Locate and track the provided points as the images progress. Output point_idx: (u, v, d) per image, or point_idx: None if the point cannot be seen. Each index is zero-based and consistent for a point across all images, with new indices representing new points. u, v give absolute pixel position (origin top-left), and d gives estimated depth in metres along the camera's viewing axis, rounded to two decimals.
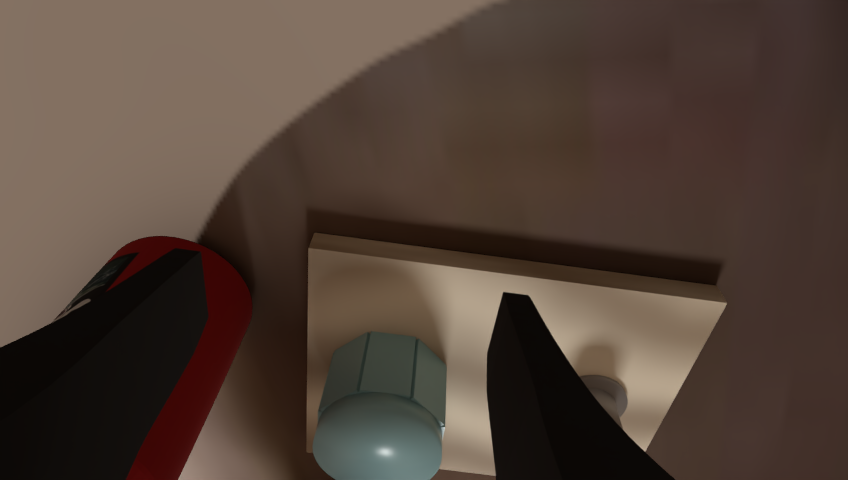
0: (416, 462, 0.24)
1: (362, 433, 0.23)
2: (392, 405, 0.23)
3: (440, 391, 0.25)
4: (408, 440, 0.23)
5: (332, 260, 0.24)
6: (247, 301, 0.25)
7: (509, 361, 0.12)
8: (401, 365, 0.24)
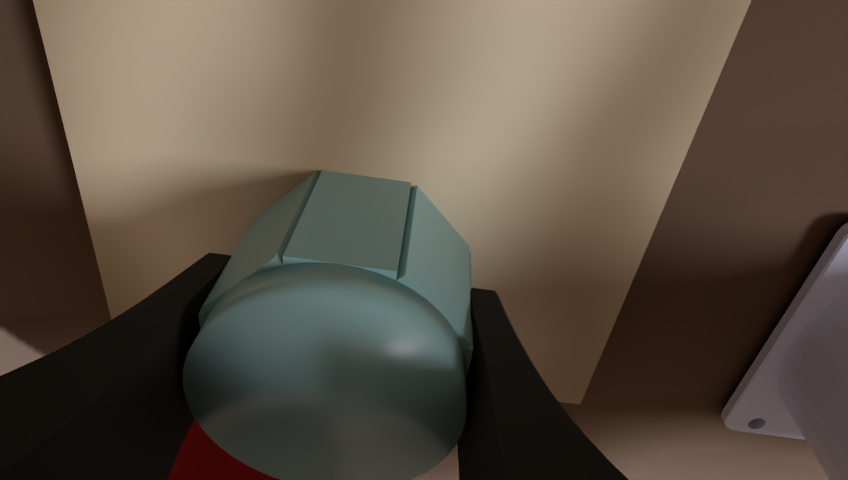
0: (338, 345, 0.10)
1: (260, 421, 0.11)
2: None
3: (284, 221, 0.12)
4: (261, 354, 0.10)
5: None
6: None
7: None
8: None
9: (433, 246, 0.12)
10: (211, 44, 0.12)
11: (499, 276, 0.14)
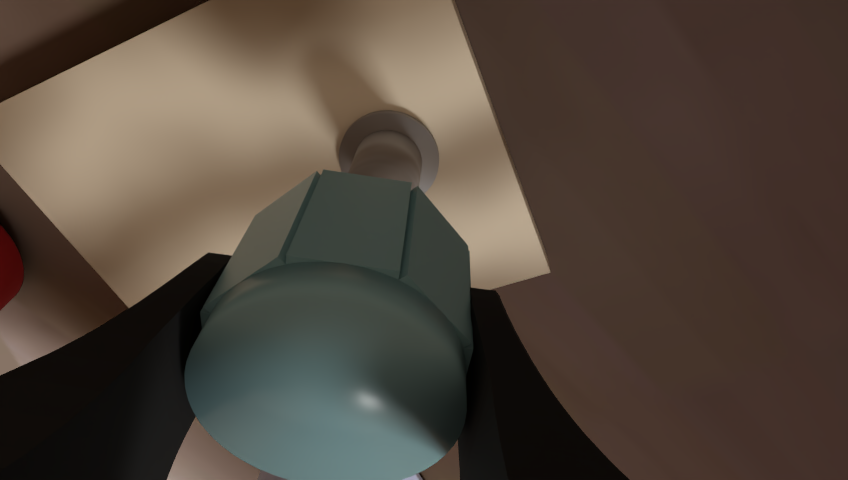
0: (341, 343, 0.10)
1: (261, 419, 0.11)
2: None
3: (286, 220, 0.12)
4: (264, 352, 0.10)
5: None
6: None
7: (472, 356, 0.12)
8: None
9: (434, 246, 0.12)
10: (229, 119, 0.20)
11: None
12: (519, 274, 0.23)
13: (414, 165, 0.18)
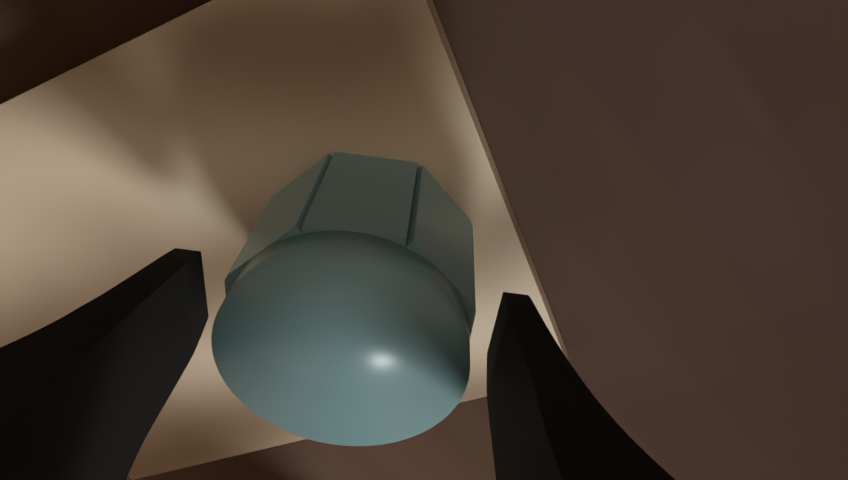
0: (353, 304, 0.11)
1: (281, 379, 0.12)
2: None
3: (301, 196, 0.13)
4: (283, 314, 0.11)
5: None
6: None
7: (509, 361, 0.12)
8: None
9: (438, 219, 0.13)
10: (155, 197, 0.15)
11: (168, 403, 0.20)
12: None
13: None
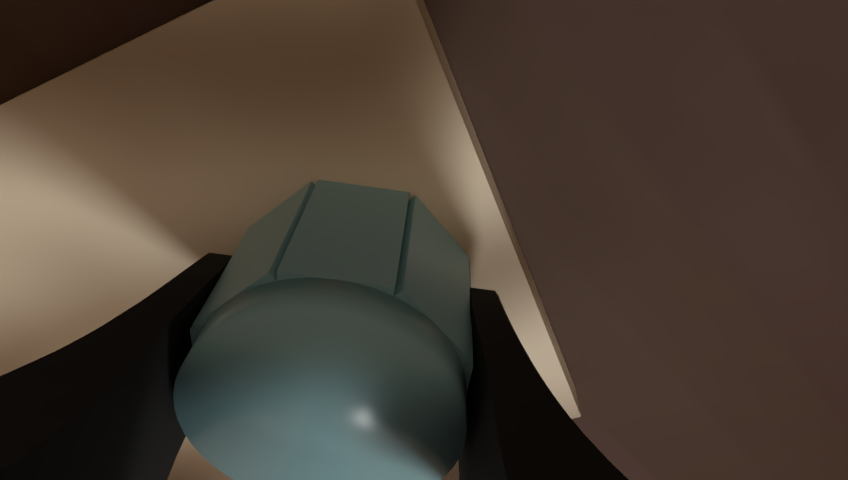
0: (334, 363, 0.10)
1: (254, 440, 0.11)
2: None
3: (279, 233, 0.11)
4: (254, 373, 0.10)
5: None
6: None
7: None
8: None
9: (432, 258, 0.12)
10: (125, 228, 0.14)
11: None
12: None
13: None
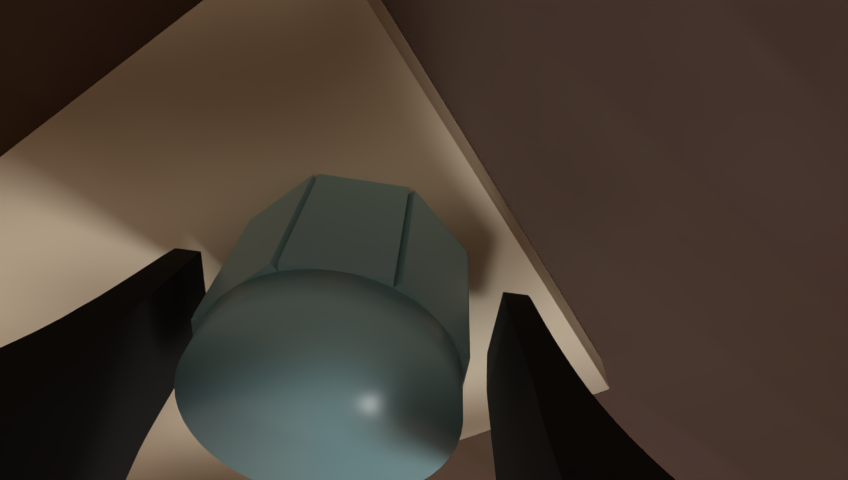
0: (395, 387, 0.10)
1: (245, 391, 0.10)
2: (234, 302, 0.10)
3: (385, 229, 0.11)
4: (323, 352, 0.10)
5: None
6: None
7: (509, 361, 0.12)
8: (274, 229, 0.12)
9: None
10: (135, 255, 0.14)
11: (192, 459, 0.19)
12: None
13: None
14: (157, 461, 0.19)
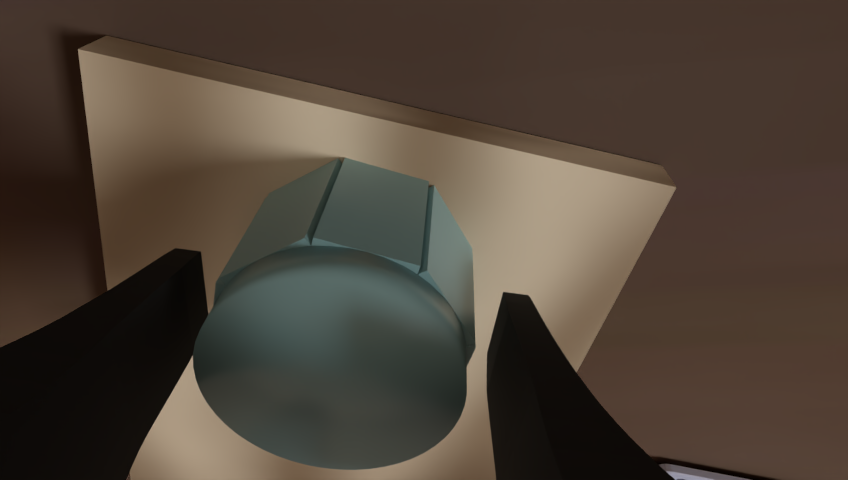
0: (408, 366, 0.11)
1: (263, 356, 0.11)
2: (268, 270, 0.10)
3: (409, 218, 0.12)
4: (348, 326, 0.10)
5: None
6: None
7: (509, 361, 0.12)
8: (302, 205, 0.12)
9: None
10: None
11: None
12: (642, 225, 0.14)
13: None
14: None
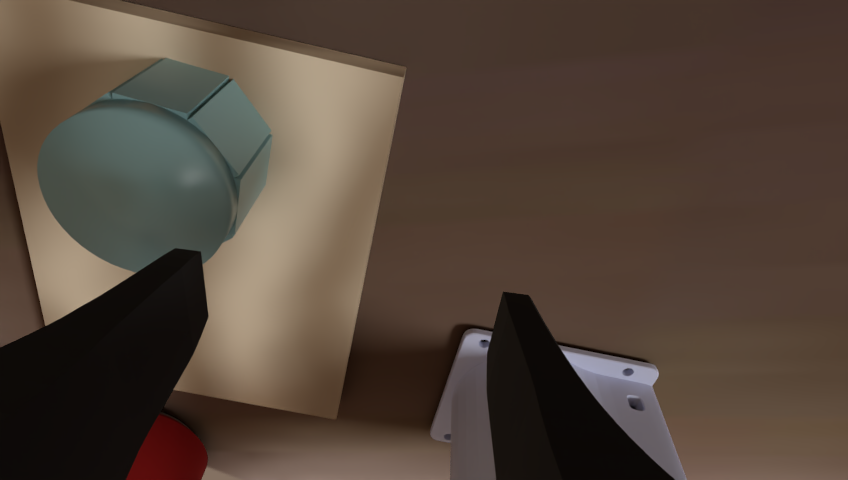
0: (181, 182, 0.16)
1: (84, 176, 0.16)
2: (79, 112, 0.16)
3: (197, 91, 0.17)
4: (133, 150, 0.16)
5: None
6: None
7: (509, 361, 0.12)
8: None
9: (256, 173, 0.19)
10: None
11: (275, 346, 0.26)
12: (388, 109, 0.19)
13: None
14: (263, 362, 0.27)
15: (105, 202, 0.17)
